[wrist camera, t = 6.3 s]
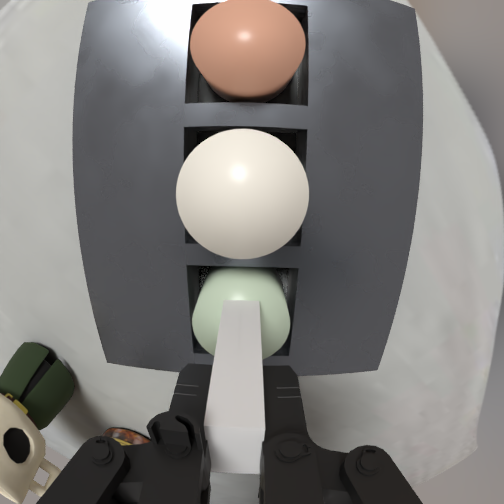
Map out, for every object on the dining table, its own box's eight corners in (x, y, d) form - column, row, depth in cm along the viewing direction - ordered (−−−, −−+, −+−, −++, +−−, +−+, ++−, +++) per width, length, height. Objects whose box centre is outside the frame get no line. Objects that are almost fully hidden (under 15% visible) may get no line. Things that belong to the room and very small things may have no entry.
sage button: (279, 325, 17) (285, 363, 14) (204, 323, 17) (195, 361, 14) (285, 254, 16) (294, 283, 12) (201, 252, 16) (189, 280, 12)
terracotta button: (292, 107, 13) (305, 94, 10) (201, 105, 13) (187, 92, 10) (293, 30, 12) (304, 0, 8) (206, 28, 12) (194, -2, 8)
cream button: (291, 233, 14) (304, 260, 10) (195, 230, 14) (178, 257, 10) (296, 137, 12) (312, 132, 9) (195, 134, 12) (175, 129, 9)
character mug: (111, 389, 20) (54, 521, 8) (85, 417, 22) (39, 520, 9) (12, 302, 17) (-86, 398, 5) (1, 345, 19) (-69, 429, 7)
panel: (362, 341, 18) (377, 370, 15) (123, 335, 18) (107, 362, 15) (390, 26, 11) (414, 8, 9) (111, 20, 11) (88, 2, 8)
